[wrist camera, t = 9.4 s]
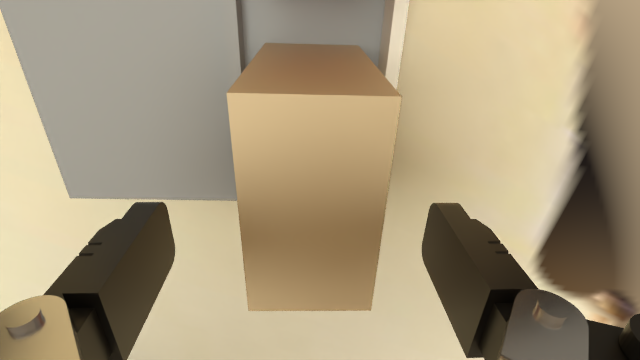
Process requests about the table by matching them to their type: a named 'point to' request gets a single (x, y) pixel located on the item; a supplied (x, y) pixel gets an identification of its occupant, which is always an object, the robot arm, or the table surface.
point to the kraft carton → (312, 174)
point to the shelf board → (168, 81)
